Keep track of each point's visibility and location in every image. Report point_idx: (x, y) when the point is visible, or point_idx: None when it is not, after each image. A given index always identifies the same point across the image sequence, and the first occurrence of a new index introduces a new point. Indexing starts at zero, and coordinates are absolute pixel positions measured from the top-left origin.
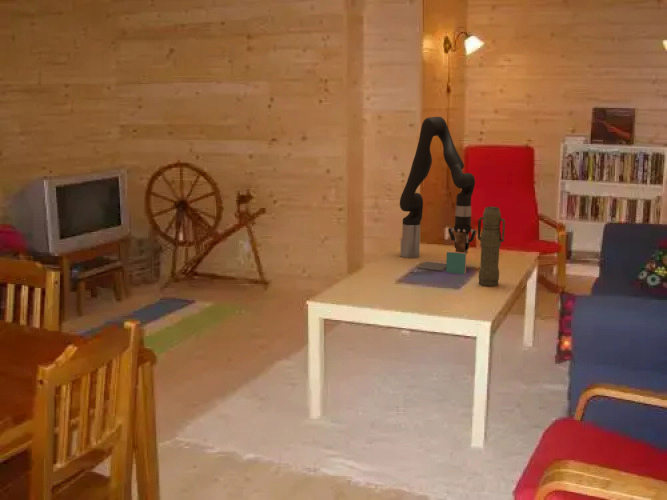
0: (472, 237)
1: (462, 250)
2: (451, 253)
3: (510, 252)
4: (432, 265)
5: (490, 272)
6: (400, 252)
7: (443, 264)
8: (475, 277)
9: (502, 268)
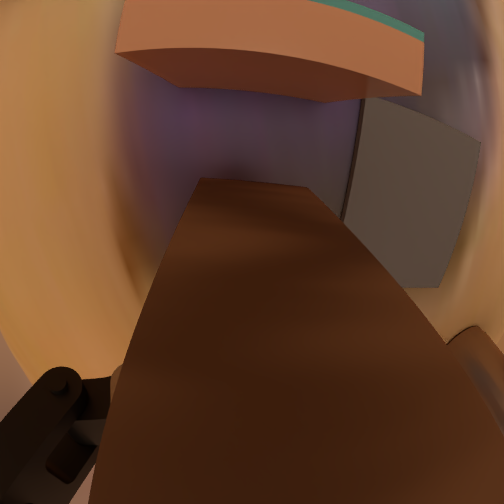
0: (9, 433)
1: (211, 199)
2: (355, 10)
3: None
4: (423, 215)
5: None
6: (492, 341)
7: None
8: (102, 14)
9: (42, 304)
